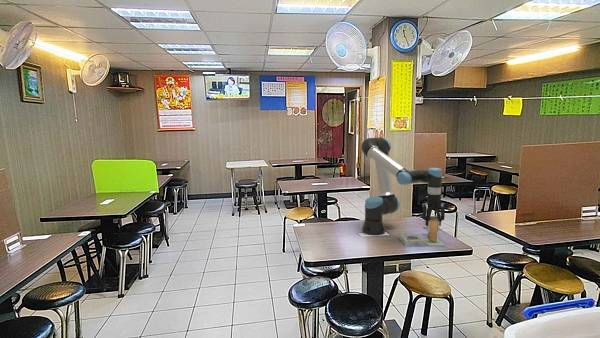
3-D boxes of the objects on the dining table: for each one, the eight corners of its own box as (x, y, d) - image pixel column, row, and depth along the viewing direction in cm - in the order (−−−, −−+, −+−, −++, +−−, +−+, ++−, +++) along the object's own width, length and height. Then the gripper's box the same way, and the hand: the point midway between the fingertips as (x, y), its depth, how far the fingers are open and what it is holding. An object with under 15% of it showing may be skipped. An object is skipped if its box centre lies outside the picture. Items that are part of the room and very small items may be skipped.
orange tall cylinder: (426, 238, 194) (427, 216, 193) (435, 238, 194) (435, 216, 192) (430, 241, 189) (430, 218, 188) (438, 241, 189) (439, 218, 187)
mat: (421, 239, 198) (421, 238, 198) (437, 239, 197) (437, 238, 197) (427, 246, 187) (427, 245, 187) (444, 246, 186) (444, 244, 186)
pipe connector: (440, 238, 200) (441, 223, 199) (424, 237, 202) (424, 222, 201) (437, 233, 210) (438, 218, 208) (421, 232, 212) (422, 217, 210)
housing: (399, 239, 200) (399, 234, 199) (418, 238, 199) (418, 234, 199) (405, 246, 188) (405, 241, 187) (425, 245, 187) (425, 241, 187)
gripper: (421, 195, 185) (420, 233, 188) (452, 194, 184) (450, 233, 187) (417, 192, 192) (415, 229, 195) (446, 192, 192) (445, 229, 195)
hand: (432, 231), depth 191 cm, fingers closed on orange tall cylinder, 5 cm apart
